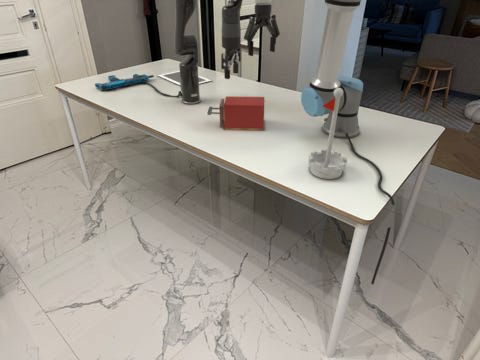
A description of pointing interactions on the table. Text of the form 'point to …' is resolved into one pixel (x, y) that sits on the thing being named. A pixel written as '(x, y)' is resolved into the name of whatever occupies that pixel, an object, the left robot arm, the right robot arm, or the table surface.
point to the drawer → (221, 109)
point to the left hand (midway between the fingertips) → (231, 75)
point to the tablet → (176, 78)
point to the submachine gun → (122, 81)
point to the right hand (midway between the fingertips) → (261, 53)
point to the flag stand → (329, 148)
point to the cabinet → (244, 113)
